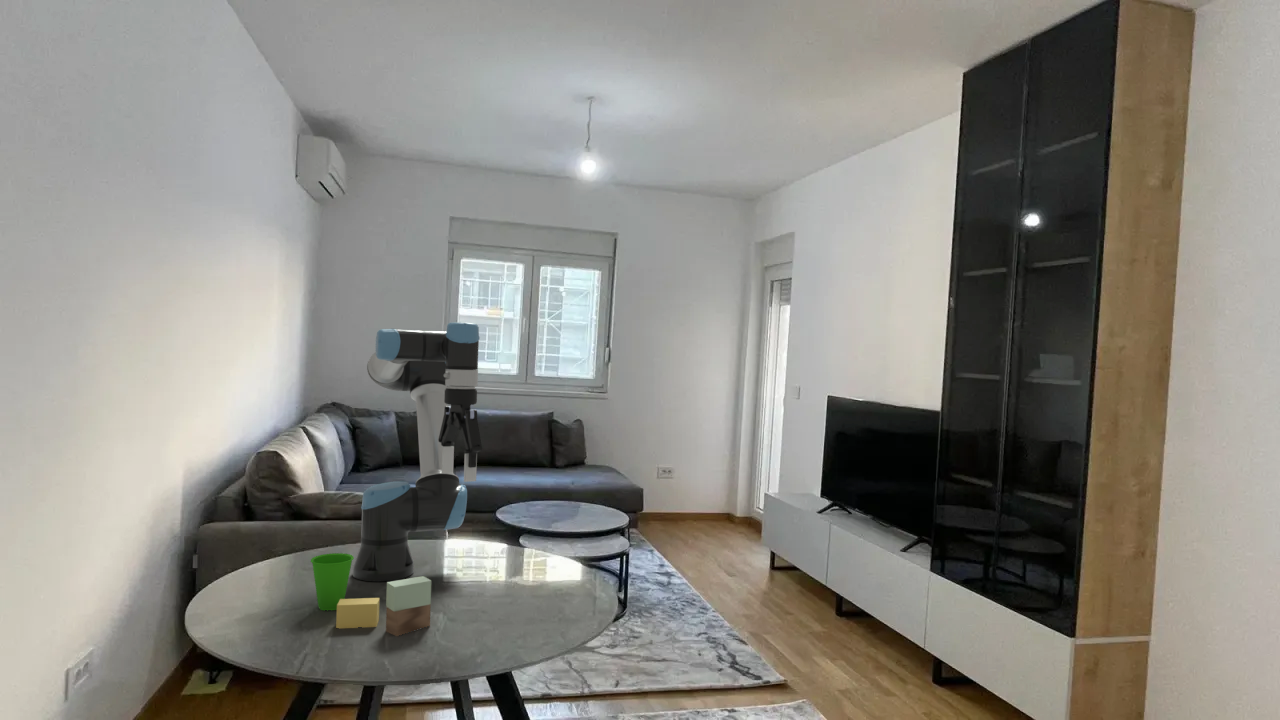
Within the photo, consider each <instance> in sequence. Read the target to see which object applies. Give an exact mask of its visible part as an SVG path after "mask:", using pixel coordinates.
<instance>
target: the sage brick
mask: <svg viewBox="0 0 1280 720" xmlns="http://www.w3.org/2000/svg"><path fill="white" fill-rule="evenodd" d="M385 594H386V595H385V596H386V601H385V607H386V608H387V607H388V608H389V609H391V610H392V611H399V610H404V609H409V608H414V607H419V606H424V605H429V604H431V605H432V580H431V579H429V578H427V576H423V575H422V576H415V577H410V578H409V577H408V578H406V579H405V578H402V579H397V580H391V581H386V593H385Z"/></svg>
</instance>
